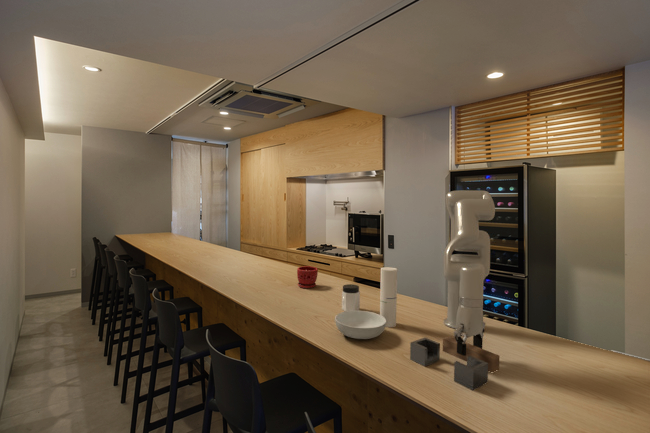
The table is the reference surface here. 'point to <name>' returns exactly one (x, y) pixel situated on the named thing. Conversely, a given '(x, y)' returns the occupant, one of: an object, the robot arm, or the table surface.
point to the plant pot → (307, 276)
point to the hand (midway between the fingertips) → (469, 351)
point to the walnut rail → (471, 353)
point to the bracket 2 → (471, 373)
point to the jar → (350, 298)
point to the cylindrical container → (388, 295)
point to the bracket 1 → (424, 351)
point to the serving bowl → (360, 324)
